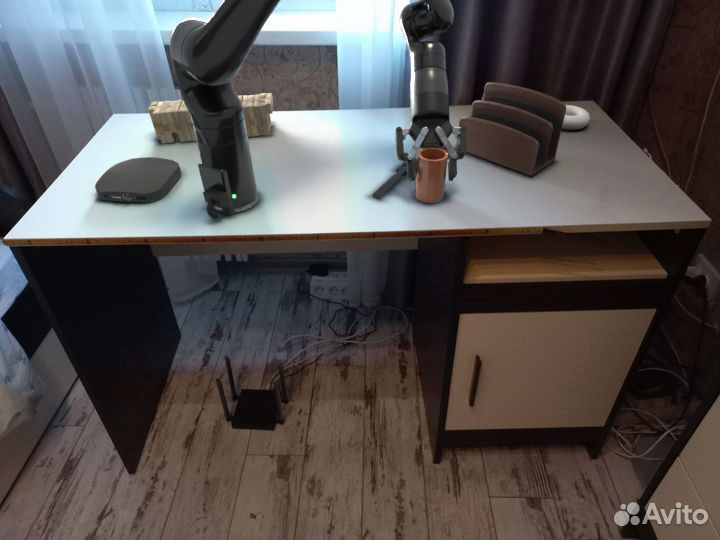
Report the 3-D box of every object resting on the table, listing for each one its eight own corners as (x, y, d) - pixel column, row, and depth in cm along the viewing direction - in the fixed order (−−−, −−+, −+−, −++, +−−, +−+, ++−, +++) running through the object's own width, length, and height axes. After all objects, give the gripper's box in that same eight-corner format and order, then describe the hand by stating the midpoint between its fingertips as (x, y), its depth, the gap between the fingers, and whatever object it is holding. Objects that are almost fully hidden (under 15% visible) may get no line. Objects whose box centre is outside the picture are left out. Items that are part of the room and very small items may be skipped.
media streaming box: (187, 169, 112) (184, 157, 110) (159, 205, 101) (155, 192, 99) (125, 167, 114) (121, 154, 112) (91, 201, 103) (86, 188, 101)
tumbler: (436, 206, 99) (440, 163, 93) (410, 198, 101) (413, 156, 95) (448, 193, 102) (452, 151, 96) (423, 186, 105) (426, 144, 99)
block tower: (156, 147, 123) (276, 135, 125) (145, 114, 118) (270, 101, 119) (162, 133, 129) (276, 122, 131) (152, 101, 124) (271, 89, 125)
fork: (383, 200, 101) (383, 197, 100) (368, 195, 102) (368, 193, 102) (423, 162, 112) (423, 160, 112) (409, 159, 114) (409, 156, 113)
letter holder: (479, 135, 122) (487, 76, 114) (555, 161, 112) (570, 98, 103) (454, 149, 117) (461, 88, 108) (531, 177, 106) (546, 113, 97)
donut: (596, 126, 125) (565, 112, 132) (600, 113, 123) (568, 99, 130) (567, 136, 121) (537, 121, 128) (571, 122, 119) (540, 107, 126)
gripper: (393, 90, 95) (396, 175, 94) (469, 88, 95) (473, 174, 94) (391, 106, 103) (393, 186, 101) (462, 104, 103) (465, 184, 101)
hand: (432, 180), depth 98 cm, fingers open, 7 cm apart
